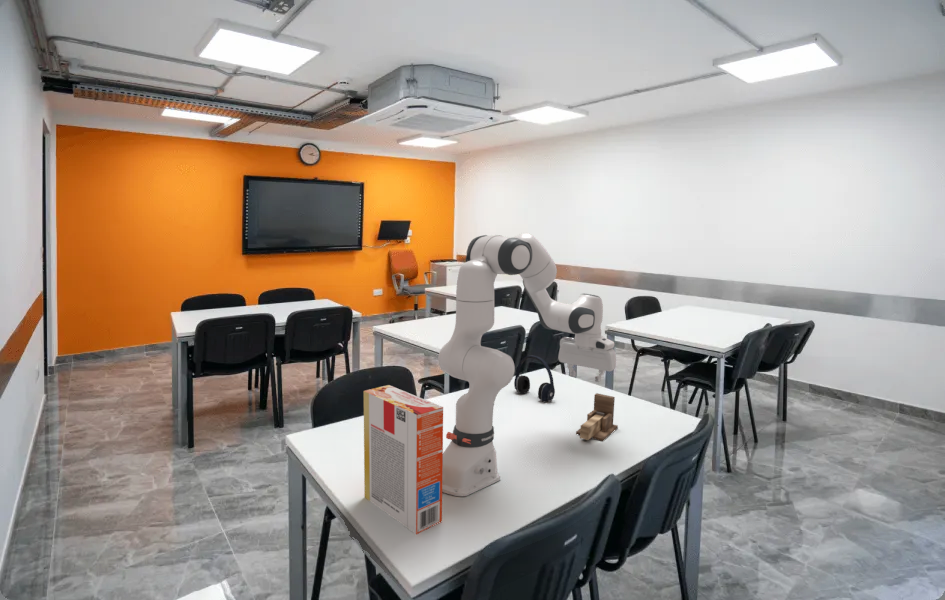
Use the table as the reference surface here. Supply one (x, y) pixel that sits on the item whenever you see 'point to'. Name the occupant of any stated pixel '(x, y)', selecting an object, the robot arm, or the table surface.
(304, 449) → the table surface
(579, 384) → the table surface
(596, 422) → the bed rail
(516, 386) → the headphones
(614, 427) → the wooden chair
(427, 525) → the pasta box
